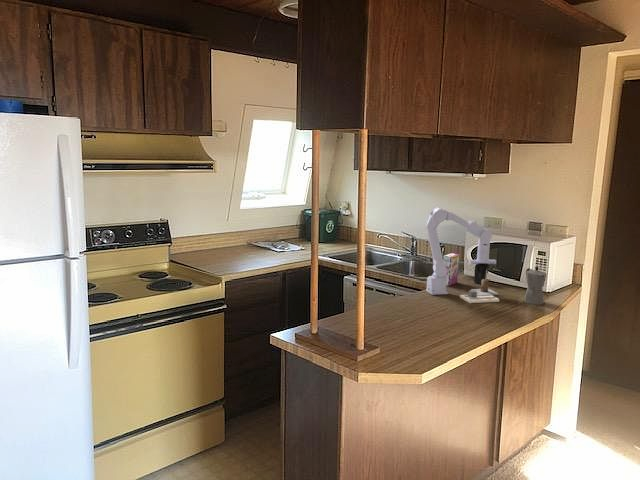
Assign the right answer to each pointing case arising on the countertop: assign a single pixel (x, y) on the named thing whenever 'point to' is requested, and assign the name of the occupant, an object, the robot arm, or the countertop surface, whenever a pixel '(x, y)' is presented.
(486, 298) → the switch panel
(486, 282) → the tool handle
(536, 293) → the coffeepot
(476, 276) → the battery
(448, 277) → the candy bar box
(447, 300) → the countertop surface
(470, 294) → the switch tab
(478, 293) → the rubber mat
